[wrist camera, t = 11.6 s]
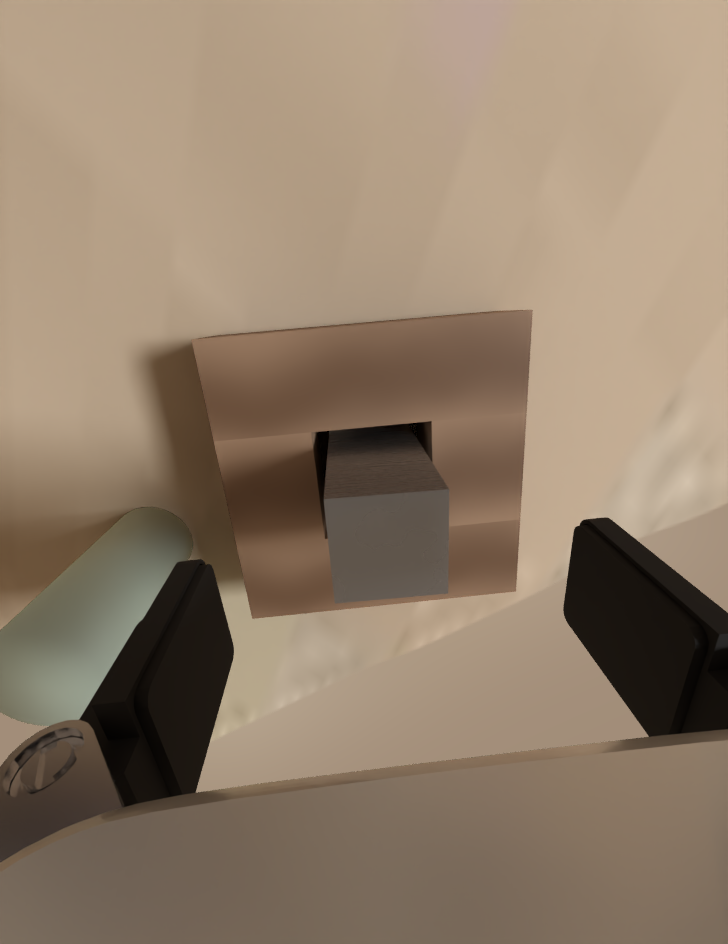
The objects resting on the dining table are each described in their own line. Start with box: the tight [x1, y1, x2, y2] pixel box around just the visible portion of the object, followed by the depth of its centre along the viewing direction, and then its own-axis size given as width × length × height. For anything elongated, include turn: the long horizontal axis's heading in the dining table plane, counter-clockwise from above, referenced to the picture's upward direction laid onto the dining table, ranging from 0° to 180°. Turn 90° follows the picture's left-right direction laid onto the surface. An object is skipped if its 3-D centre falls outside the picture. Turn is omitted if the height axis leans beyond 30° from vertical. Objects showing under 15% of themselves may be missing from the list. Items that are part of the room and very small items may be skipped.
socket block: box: [192, 310, 533, 619], centre depth 21 cm, size 14×14×4 cm
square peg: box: [324, 424, 449, 604], centre depth 19 cm, size 4×4×10 cm
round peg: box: [0, 507, 193, 726], centre depth 20 cm, size 4×4×10 cm
